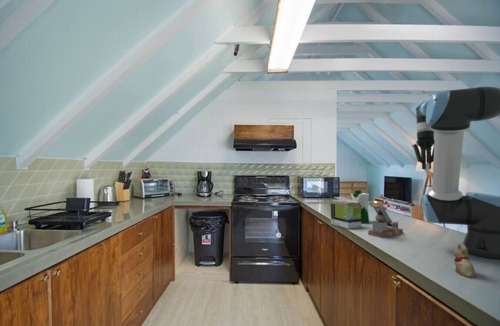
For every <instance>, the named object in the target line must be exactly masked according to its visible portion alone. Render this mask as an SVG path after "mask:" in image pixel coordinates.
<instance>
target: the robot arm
mask: <svg viewBox="0 0 500 326" xmlns="http://www.w3.org/2000/svg"><path fill="white" fill-rule="evenodd" d="M415 105H416V106H415V111H416V116H415V117H416V131H417V132H416V139H417V140H416V142H415V143H414V144H411V147H412V148H413V150H414V153H415V157H416V160H417V162H418V163H421V169H422V170H423V176H426V177H427V176H430V170H432V177H431V178H432V182H431V187H430V188H428V189H427V191H426V192H427V193H426V194H423V195H422V196H421V201H422V208H423V211H424V215H425V219H426V220H427V222H429V223H431V224H432V223H433V224H439V225H441V224H443V225H444V224H445V225H461V226H464V225H465V226H467V230H466V231H467V232H466V234H465V237H464V239H463V241H462V242H463V243H464V245H465V246H466V248H467V249H468V254H471V255H474V256H478V257H482V258H487V259H488V258H489V259H497V260H500V195H495V194H489V193H481V192H474V191H472V192H470V191H467V192H466V193H465V195H464V194H463V192H462V191H461V190H459V189H460V187H459V186H460V179H461V178H460V177H461V176H460V174H461V168H462V167H461V165H462V155H463V154H462V153H463V145H464V133H465V132H466V131H468V130H469V129H470V127H471V122H480V121H487V120H491V119H494V118H497V117H499V116H500V88H499V87H496V86H478V87H469V88H459V89H449V90H444V91H438V92H435V93H433V94H432V95H431V96H430V97H429V99H428V100H423V101H420V102H417V103H416V104H415ZM432 147H433V148H432ZM419 148H420V149H419ZM432 163H433V164H432ZM432 166H433V167H432Z"/></svg>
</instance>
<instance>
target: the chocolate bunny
mask: <svg viewBox="0 0 500 326" xmlns="http://www.w3.org/2000/svg"><path fill="white" fill-rule="evenodd" d="M453 251H454V252H453V255H454V264H455V269H454V271H455V272H456V273H457V274H458V275H460V276H463V277H465V278H469V279H473V278H475V277H476V270H475V267H474V265H473V263H472V261H470V258H469V253H468V249H467V248H466V246H465V245H464V243H463V241H461V242H459V243H458V244H457V247H456V248H455V249H454V250H453Z"/></svg>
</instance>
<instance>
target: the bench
mask: <svg viewBox="0 0 500 326" xmlns="http://www.w3.org/2000/svg"><path fill="white" fill-rule="evenodd" d="M403 230H404V229H403V228H399V221H392V223H391V226H387V232H385V233H380V232H374V231H373V229H370V230H367V234H368V236H373V237H376V238H377V237H378V238H382V239H388V238H392V237H395V236H397V235H400V234H403V233H404V231H403Z"/></svg>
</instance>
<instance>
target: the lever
mask: <svg viewBox="0 0 500 326" xmlns="http://www.w3.org/2000/svg"><path fill="white" fill-rule="evenodd" d="M369 205H370V207H371V208H373V209H374V211H375V212H376V215H378V214H380V215H382V216H383V221H385V222H387V226H388V227H390V226H391V224H392V222H393V221H392V219H391V218H390V215H389V214H388V212H387V211H386V208H385V207H384V202H383V201H379V200H370V203H369Z"/></svg>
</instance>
